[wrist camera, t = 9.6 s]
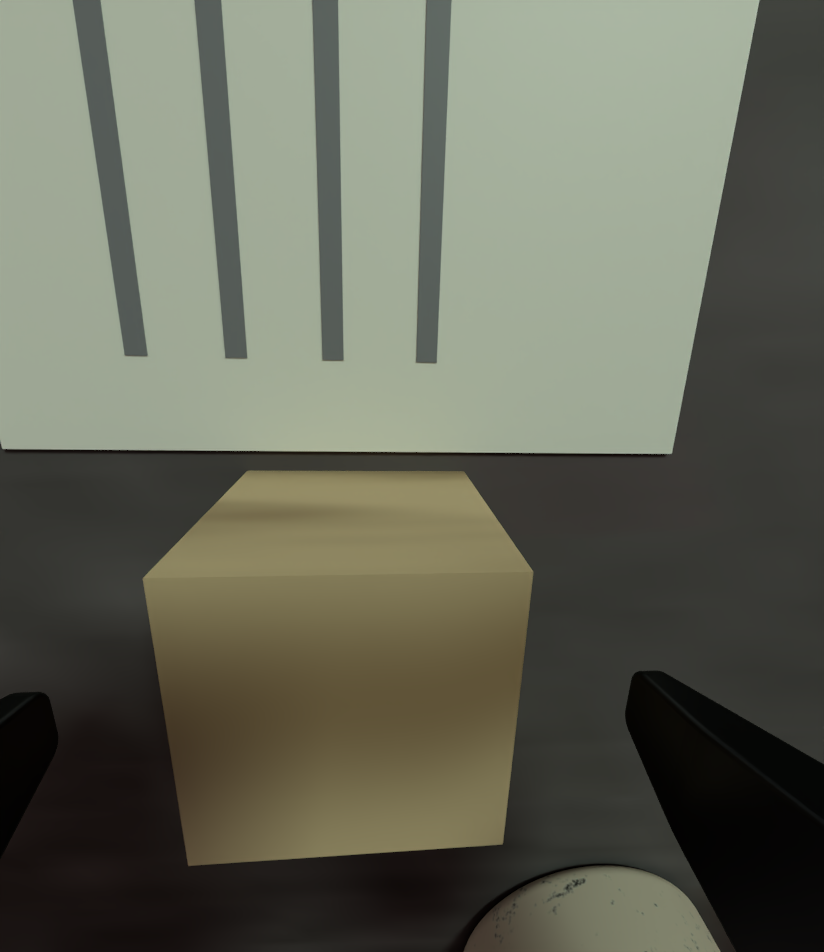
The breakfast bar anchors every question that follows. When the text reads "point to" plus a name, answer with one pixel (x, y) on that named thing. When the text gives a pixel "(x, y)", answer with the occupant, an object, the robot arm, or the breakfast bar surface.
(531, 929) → the teacup with lid
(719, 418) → the breakfast bar surface
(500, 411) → the letter
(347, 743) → the block
